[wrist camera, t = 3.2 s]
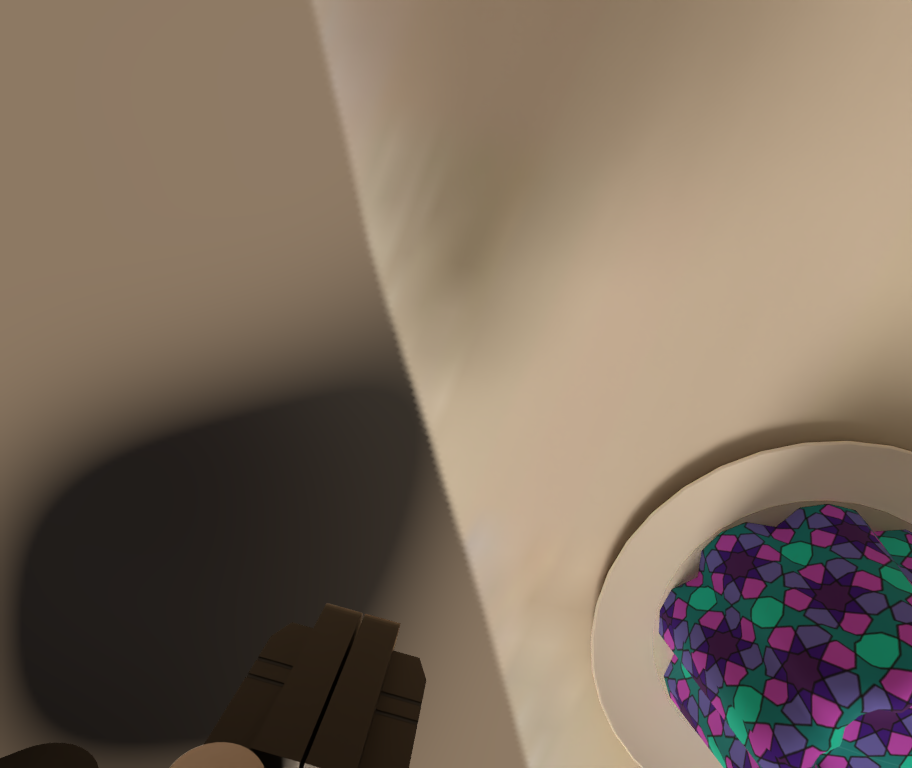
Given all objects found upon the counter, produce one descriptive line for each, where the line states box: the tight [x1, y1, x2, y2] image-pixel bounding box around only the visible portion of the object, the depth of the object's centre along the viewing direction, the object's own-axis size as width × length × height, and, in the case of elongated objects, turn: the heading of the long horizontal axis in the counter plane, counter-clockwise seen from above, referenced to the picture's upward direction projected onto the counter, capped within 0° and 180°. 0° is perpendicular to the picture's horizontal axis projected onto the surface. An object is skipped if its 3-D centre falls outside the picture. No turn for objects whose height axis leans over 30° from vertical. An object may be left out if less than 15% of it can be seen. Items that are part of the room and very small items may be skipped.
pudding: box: [591, 441, 912, 768], centre depth 15 cm, size 12×12×5 cm
